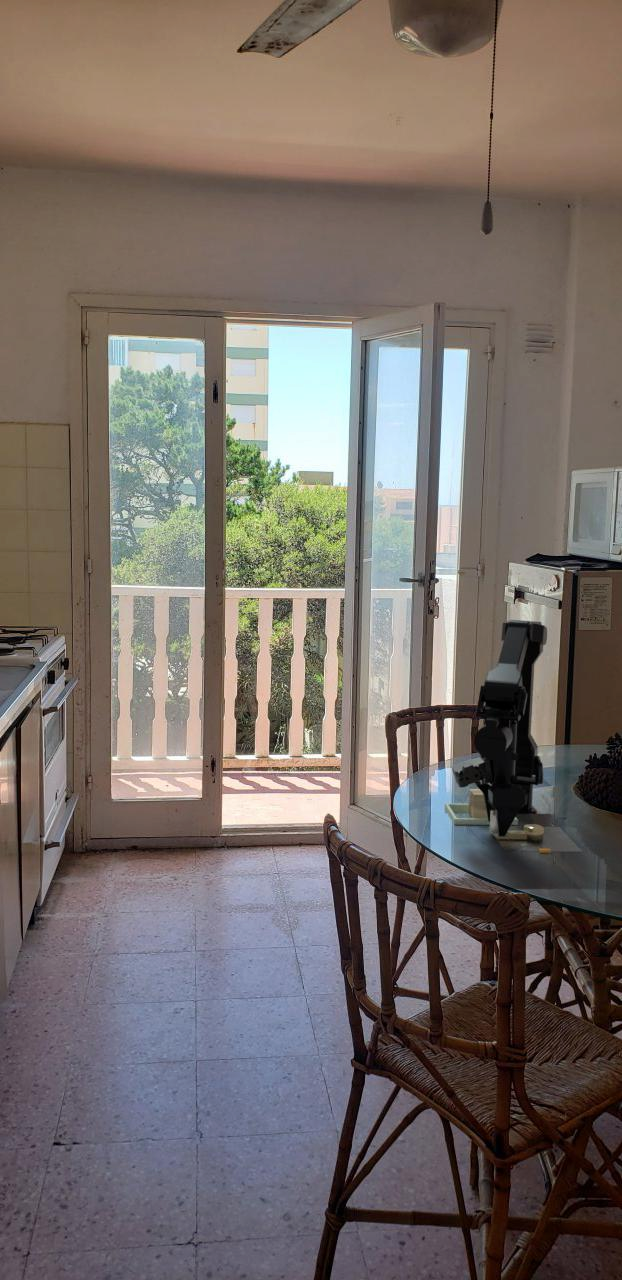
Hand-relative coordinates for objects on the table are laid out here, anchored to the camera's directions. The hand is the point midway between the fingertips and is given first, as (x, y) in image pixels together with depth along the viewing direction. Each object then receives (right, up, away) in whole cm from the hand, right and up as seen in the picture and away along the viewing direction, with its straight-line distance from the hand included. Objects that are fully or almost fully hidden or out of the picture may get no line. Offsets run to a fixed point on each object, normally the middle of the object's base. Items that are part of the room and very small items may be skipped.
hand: (496, 828), depth 183 cm
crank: (+4, -2, 0) cm, 4 cm away
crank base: (+7, -3, +1) cm, 8 cm away
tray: (-1, -2, +14) cm, 14 cm away
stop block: (-1, -1, +14) cm, 14 cm away
